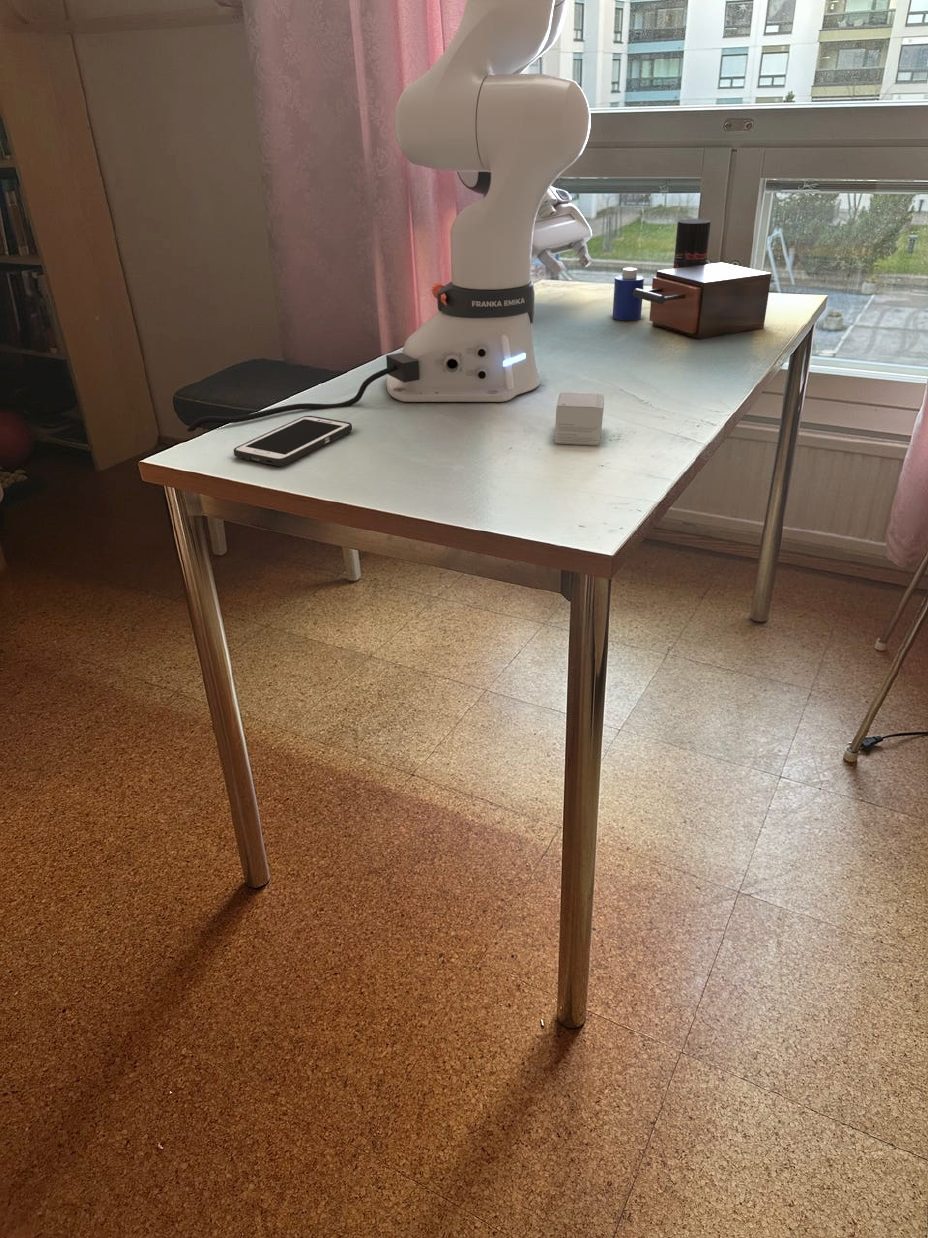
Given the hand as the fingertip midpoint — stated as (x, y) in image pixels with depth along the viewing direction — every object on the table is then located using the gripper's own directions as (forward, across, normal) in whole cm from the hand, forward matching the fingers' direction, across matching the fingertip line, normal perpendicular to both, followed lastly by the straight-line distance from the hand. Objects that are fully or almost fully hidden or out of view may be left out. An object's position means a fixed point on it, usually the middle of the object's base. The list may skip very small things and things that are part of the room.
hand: (575, 268), depth 171 cm
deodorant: (+17, +15, -6) cm, 23 cm away
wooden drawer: (+22, -2, -13) cm, 26 cm away
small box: (+33, -60, -22) cm, 72 cm away
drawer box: (+24, +2, -14) cm, 28 cm away
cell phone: (+14, -83, -4) cm, 84 cm away
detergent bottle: (+14, 0, -3) cm, 14 cm away
